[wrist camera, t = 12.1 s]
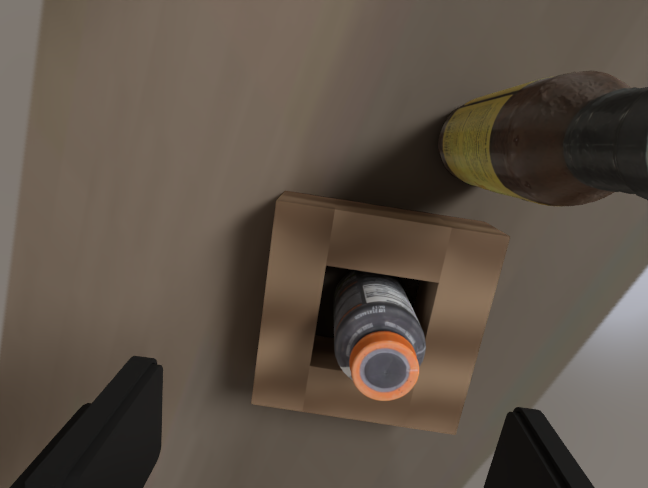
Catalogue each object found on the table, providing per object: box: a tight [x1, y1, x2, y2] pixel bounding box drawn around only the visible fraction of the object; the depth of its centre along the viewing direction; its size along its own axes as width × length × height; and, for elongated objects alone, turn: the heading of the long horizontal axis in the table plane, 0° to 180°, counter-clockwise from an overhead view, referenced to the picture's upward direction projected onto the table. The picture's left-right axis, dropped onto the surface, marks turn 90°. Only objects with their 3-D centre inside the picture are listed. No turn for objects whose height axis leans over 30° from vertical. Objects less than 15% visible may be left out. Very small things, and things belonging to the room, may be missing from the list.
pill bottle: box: [333, 270, 426, 401], centre depth 29 cm, size 6×6×11 cm
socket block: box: [251, 191, 510, 435], centre depth 32 cm, size 16×16×5 cm
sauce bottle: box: [438, 71, 648, 206], centre depth 22 cm, size 6×6×20 cm
